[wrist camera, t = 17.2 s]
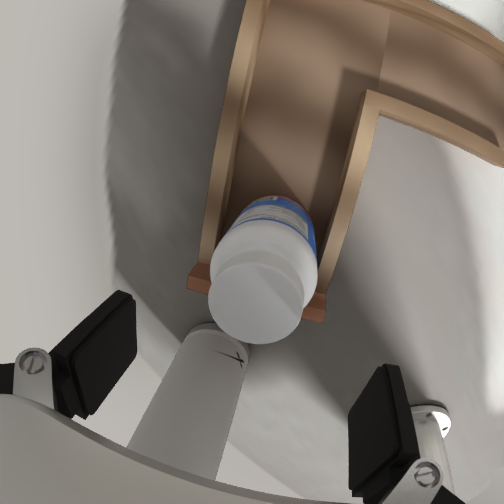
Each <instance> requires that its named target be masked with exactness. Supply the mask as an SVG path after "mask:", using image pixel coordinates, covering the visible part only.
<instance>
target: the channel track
mask: <svg viewBox="0 0 504 504" xmlns="http://www.w3.org/2000/svg"><path fill="white" fill-rule="evenodd" d="M379 115H380V116H383V117H386V118H389V119H392V120H395V121H397V122H400V123H403V124H405V125H408V126H411V127H413V128H416V129H418V130H421V131H423V132H426V133H428V134H430V135H433V136H435V137H437V138H440V139H442V140H444V141H446V142H449V143H451V144H453V145H455V146H457V147H459V148H461V149H463V150H466V151H468V152H470V153H472V154H474V155H476V156H477V157H479V158H481V159H483V160H485V161H487V162H489V163H491V164H493V165H495V166H499V167H502V168H504V43H503V42H502V41H500V40H499V39H497V38H496V37H494V36H493V35H491V34H490V33H488V32H487V31H485V30H483V29H482V28H480V27H478V26H477V25H475V24H473V23H471V22H470V21H468V20H466V19H464V18H463V17H461V16H459V15H457V14H455V13H453V12H451V11H449V10H447V9H445V8H443V7H441V6H439V5H437V4H435V3H432V2H430V1H428V0H247V1H246V5H245V9H244V13H243V17H242V21H241V25H240V29H239V33H238V38H237V42H236V46H235V51H234V55H233V60H232V64H231V69H230V73H229V78H228V83H227V88H226V93H225V98H224V103H223V108H222V113H221V118H220V124H219V129H218V134H217V140H216V146H215V151H214V157H213V163H212V169H211V175H210V181H209V187H208V194H207V200H206V207H205V214H204V221H203V228H202V235H201V242H200V250H199V258H198V263H197V264H196V265H195V267H194V268H193V269H192V271H191V272H190V273H189V275H188V279H187V289H190V290H194V291H197V292H201V293H204V294H209V290H210V287H211V284H212V283H211V278H210V264H211V259H212V256H213V253H214V251H215V249H216V247H217V246H218V244H219V242H220V241H221V240H222V238H223V237H224V236H225V234H226V233H227V232H228V230H229V229H230V228H231V226H232V225H233V224H234V222H235V221H236V219H237V218H238V217H239V215H240V214H241V213H242V211H243V210H244V209H245V208H246V207H247V206H248V205H249V204H250V203H252V202H253V201H255V200H257V199H259V198H262V197H266V196H283V197H287V198H289V199H291V200H293V201H295V202H297V203H298V204H299V205H301V206H302V207H303V208H304V209H305V211H306V212H307V213H308V215H309V216H310V218H311V221H312V224H313V227H314V233H315V245H316V257H317V274H318V276H317V285H316V289H315V292H314V294H313V296H312V298H311V300H310V301H309V303H308V304H307V305H306V306H305V307H304V308H303V312H302V316H301V319H305V320H310V321H314V322H318V323H322V321H323V318H324V316H325V313H326V298H325V294H326V291H327V288H328V286H329V283H330V280H331V277H332V274H333V271H334V269H335V266H336V263H337V260H338V257H339V254H340V251H341V248H342V245H343V242H344V239H345V236H346V233H347V229H348V226H349V223H350V220H351V217H352V213H353V210H354V207H355V203H356V200H357V197H358V193H359V190H360V186H361V183H362V179H363V175H364V172H365V168H366V164H367V160H368V157H369V153H370V149H371V145H372V141H373V137H374V133H375V129H376V124H377V120H378V116H379Z"/></svg>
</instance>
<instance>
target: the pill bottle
mask: <svg viewBox="0 0 504 504" xmlns="http://www.w3.org/2000/svg"><path fill="white" fill-rule="evenodd" d="M317 276H318V274H317V257H316V245H315V233H314V227H313V224H312V221H311V218H310V216H309V215H308V213H307V212H306V211H305V209H304V208H303V207H302V206H301V205H299V204H298V203H297V202H295V201H293V200H291V199H289V198H287V197H283V196H266V197H262V198H259V199H257V200H255V201H253V202H252V203H250V204H249V205H248V206H247V207H246V208H245V209H244V210H243V211H242V213H241V214H240V215H239V217H238V218H237V219H236V221H235V222H234V224H233V225H232V226H231V228H230V229H229V230H228V232H227V233H226V234H225V236H224V237H223V238H222V240H221V241H220V242H219V244H218V246H217V247H216V249H215V251H214V253H213V256H212V259H211V264H210V278H211V283H212V284H211V287H210V290H209V294H208V305H209V309H210V313H211V315H212V317H213V319H214V321H215V322H216V323H217V325H218V326H219V327H220V328H221V329H222V330H223V331H224V332H225V333H227V334H228V335H230V336H231V337H233V338H235V339H237V340H240V341H243V342H246V343H252V344H268V343H273V342H276V341H279V340H281V339H283V338H285V337H287V336H288V335H289V334H290V333H292V332H293V330H294V329H295V328H296V327H297V325H298V324H299V322H300V319H301V316H302V312H303V308H304V307H305V306H306V305H307V304H308V303H309V301H310V300H311V298H312V296H313V294H314V292H315V289H316V285H317Z"/></svg>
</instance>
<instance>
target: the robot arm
mask: <svg viewBox="0 0 504 504" xmlns="http://www.w3.org/2000/svg"><path fill="white" fill-rule="evenodd" d="M136 354H137V334H136V301H135V300H134V299H133V297H132V295H131V294H128V293H126V292H123V291H120V290H117V291H115V292H114V293H113V294H112V295H111V296H110V297H109V298H108V299H106V300H105V301H104V302H103V303H102V304H101V305H100V306H99V307H98V308H97V309H95V310H94V311H93V312H92V313H91V314H90V315H89V316H87V317H86V318H85V319H84V320H83V321H82V322H81V323H80V324H79V325H78V326H76V327H75V328H74V329H73V330H72V331H71V332H70V333H69V334H68V335H67V336H66V337H65V338H64V339H63V340H62V341H61V342H60V343H59V344H57V346H55V347H54V348H53V349H52V350H51V351H50V352H49V353H47V352H46V351H45V350H43V349H40V348H29V349H26V350H24V351H22V352H21V353H20V354H19V355H18V356H17V358H16V361H15V363H8V364H0V504H349V503H336V502H325V501H315V500H307V499H299V498H292V497H286V496H279V495H274V494H269V493H264V492H259V491H253V490H250V489H245V488H241V487H237V486H233V485H228V484H225V483H221V482H218V481H214V480H211V479H208V478H204V477H201V476H198V475H195V474H192V473H189V472H186V471H183V470H180V469H177V468H174V467H172V466H169V465H166V464H164V463H161V462H158V461H156V460H153V459H151V458H149V457H146V456H144V455H141V454H139V453H137V452H135V451H132V450H130V449H128V448H125V447H123V446H121V445H119V444H117V443H115V442H113V441H111V440H109V439H107V438H105V437H103V436H101V435H99V434H97V433H95V432H93V431H91V430H89V429H88V428H86V427H84V426H82V425H80V424H78V423H77V422H75V421H73V420H72V419H71V418H73V416H74V415H75V414H76V415H78V416H79V417H81V418H83V419H85V420H86V418H87V417H88V415H89V414H90V415H93V414H94V413H95V412H96V411H97V409H98V408H99V406H100V405H101V403H102V402H103V401H104V399H105V398H106V397H107V395H108V394H109V392H110V391H111V390H112V389H113V387H114V386H115V384H116V383H117V382H118V380H119V379H120V377H121V376H122V375H123V373H124V372H125V371H126V370H127V368H128V367H129V365H130V364H131V363H132V361H133V360H134V359H135V357H136ZM450 426H451V419H450V416H449V413H448V412H447V411H446V410H445V409H443V408H441V407H438V406H432V405H422V406H415V407H410V404H409V402H408V399H407V395H406V391H405V387H404V383H403V379H402V375H401V371H400V368H399V366H396V365H391V364H383V365H382V367H380V366H379V367H378V368H377V369H376V371H375V372H374V374H373V375H372V377H371V379H370V380H369V382H368V384H367V385H366V387H365V388H364V390H363V391H362V393H361V394H360V396H359V398H358V399H357V401H356V402H355V404H354V405H353V406H352V408H351V409H350V411H349V415H348V437H349V489H350V490H352V497H363V503H364V504H465V503H464V502H463V501H462V500H460V499H459V498H458V497H457V496H455V492H454V486H453V481H452V476H451V471H450V466H449V462H448V457H447V453H446V449H445V445H444V441H443V438H444V437H445V435H446V434H447V432H448V431H449V429H450Z"/></svg>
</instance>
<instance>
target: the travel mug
mask: <svg viewBox="0 0 504 504" xmlns="http://www.w3.org/2000/svg"><path fill="white" fill-rule="evenodd" d="M249 357H250V350H249V346H248V344H247V343H246V342H243V341H240V340H237V339H235V338H233V337H231V336H230V335H228V334H227V333H225V332H224V331H223V330H222V329H221V328H220V327H219V326H218V325H217V323H204V324H199V325H197V326H195V327H193V328H192V329H191V330H190V331H189V333H188V334H187V336H186V338H185V340H184V341H183V344H182V345H181V347H180V349H179V350H178V352H177V354H176V356H175V358H174V360H173V361H172V363H171V365H170V367H169V369H168V371H167V373H166V374H165V376H164V378H163V380H162V382H161V384H160V386H159V387H158V389H157V391H156V393H155V395H154V397H153V399H152V401H151V402H150V404H149V406H148V408H147V410H146V412H145V414H144V415H143V417H142V419H141V421H140V423H139V425H138V427H137V429H136V431H135V432H134V434H133V436H132V438H131V440H130V442H129V444H128V446H127V448H128V449H130V450H132V451H135V452H137V453H139V454H141V455H144V456H146V457H149V458H151V459H153V460H156V461H158V462H161V463H164V464H166V465H169V466H172V467H174V468H177V469H180V470H183V471H186V472H189V473H192V474H195V475H198V476H201V477H204V478H208V479H211V480H214V481H215V479H216V475H217V472H218V468H219V465H220V462H221V458H222V455H223V451H224V448H225V444H226V441H227V437H228V434H229V430H230V427H231V423H232V420H233V416H234V413H235V409H236V405H237V402H238V398H239V394H240V391H241V387H242V383H243V380H244V376H245V372H246V369H247V365H248V361H249Z"/></svg>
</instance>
